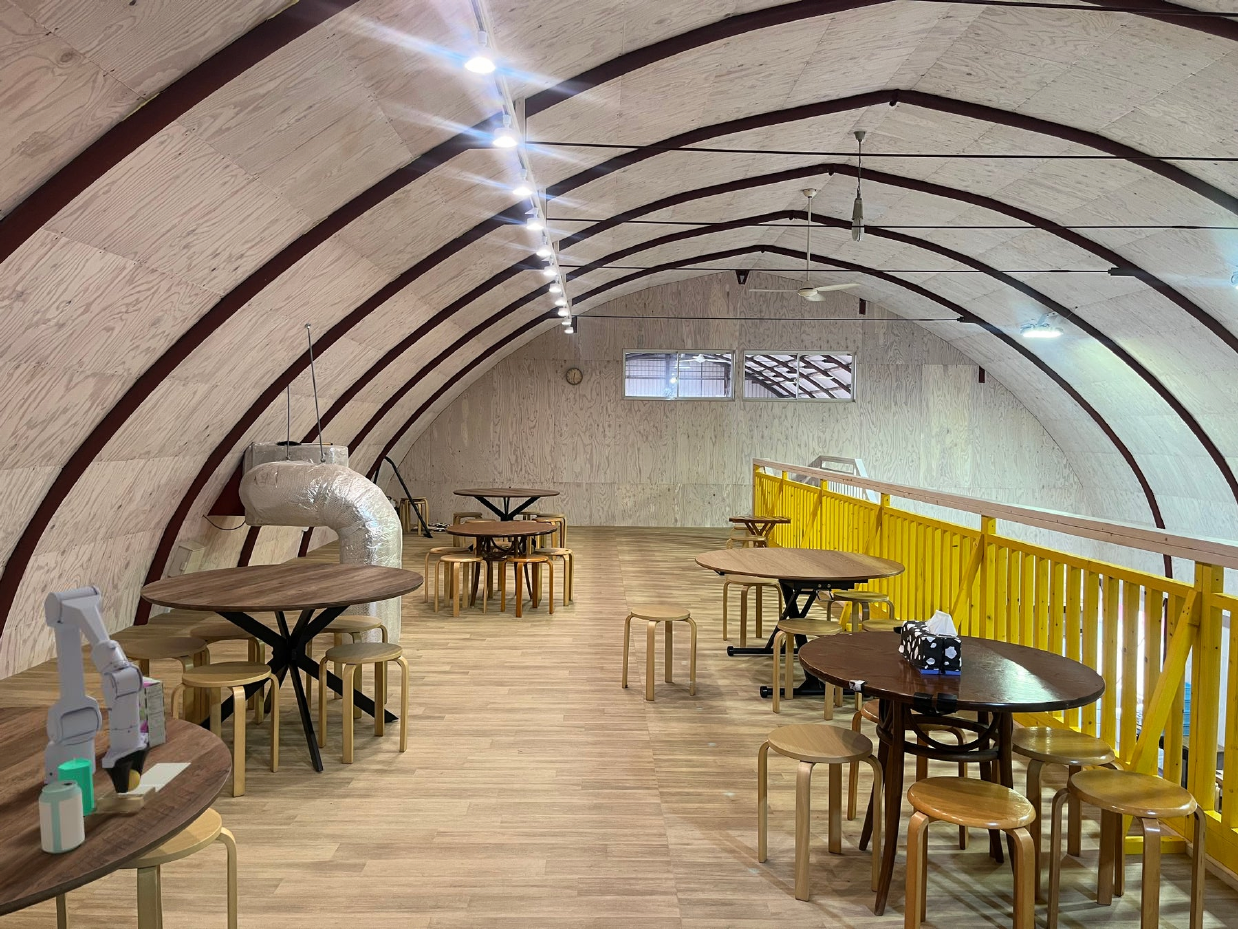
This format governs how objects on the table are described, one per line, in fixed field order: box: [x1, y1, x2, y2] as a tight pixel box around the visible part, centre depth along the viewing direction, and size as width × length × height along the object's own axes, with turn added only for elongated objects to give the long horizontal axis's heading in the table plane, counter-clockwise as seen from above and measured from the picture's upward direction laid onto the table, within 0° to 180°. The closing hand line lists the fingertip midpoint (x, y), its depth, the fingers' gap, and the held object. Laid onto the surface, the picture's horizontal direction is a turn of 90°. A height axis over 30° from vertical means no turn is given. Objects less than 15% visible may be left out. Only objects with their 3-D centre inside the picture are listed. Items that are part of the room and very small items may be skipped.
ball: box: [128, 770, 141, 792], centre depth 197 cm, size 4×4×4 cm
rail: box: [95, 787, 157, 812], centre depth 196 cm, size 9×6×2 cm
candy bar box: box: [137, 675, 167, 749], centre depth 231 cm, size 11×5×16 cm, turn 58°
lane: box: [116, 762, 192, 796], centre depth 205 cm, size 8×22×1 cm, turn 179°
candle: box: [58, 757, 95, 817], centre depth 192 cm, size 6×6×12 cm
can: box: [38, 780, 86, 854], centre depth 178 cm, size 7×7×12 cm
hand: (128, 787), depth 197 cm, fingers closed on ball, 4 cm apart
